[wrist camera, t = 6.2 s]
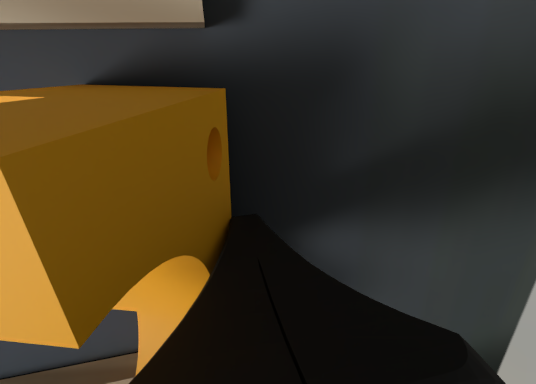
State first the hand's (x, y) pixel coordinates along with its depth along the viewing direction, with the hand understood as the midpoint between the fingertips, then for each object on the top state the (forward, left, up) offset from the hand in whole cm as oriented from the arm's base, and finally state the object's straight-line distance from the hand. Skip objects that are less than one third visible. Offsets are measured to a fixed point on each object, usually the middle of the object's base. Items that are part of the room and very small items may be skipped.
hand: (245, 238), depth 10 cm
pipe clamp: (-1, +3, -1) cm, 3 cm away
